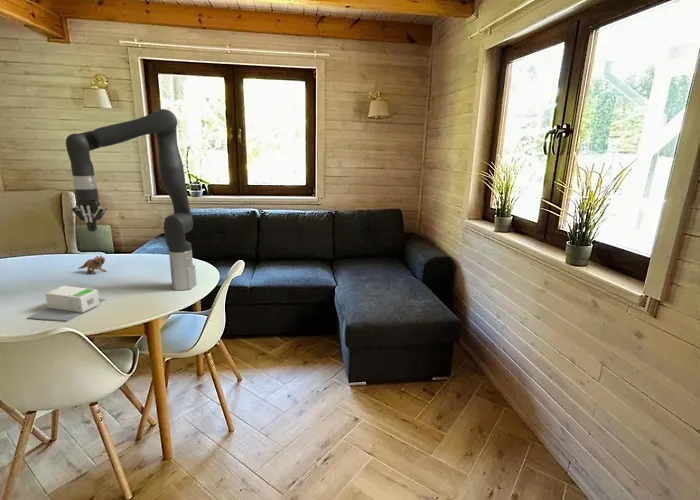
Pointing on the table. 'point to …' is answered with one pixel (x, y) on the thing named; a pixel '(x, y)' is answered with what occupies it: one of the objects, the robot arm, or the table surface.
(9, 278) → the table surface
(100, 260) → the dinosaur figurine
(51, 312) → the slate mat
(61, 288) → the skincare box
